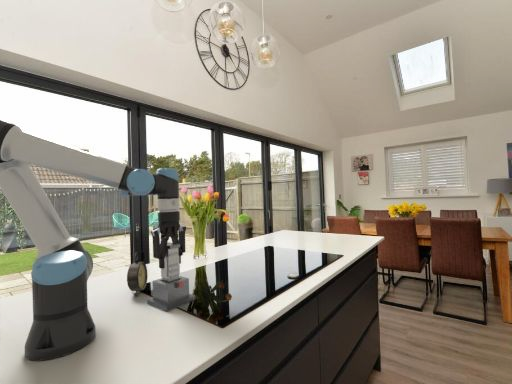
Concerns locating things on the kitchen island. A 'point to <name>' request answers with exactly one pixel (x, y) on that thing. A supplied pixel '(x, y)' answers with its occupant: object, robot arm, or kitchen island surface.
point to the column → (172, 262)
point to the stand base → (170, 294)
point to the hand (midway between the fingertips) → (170, 274)
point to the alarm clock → (137, 276)
